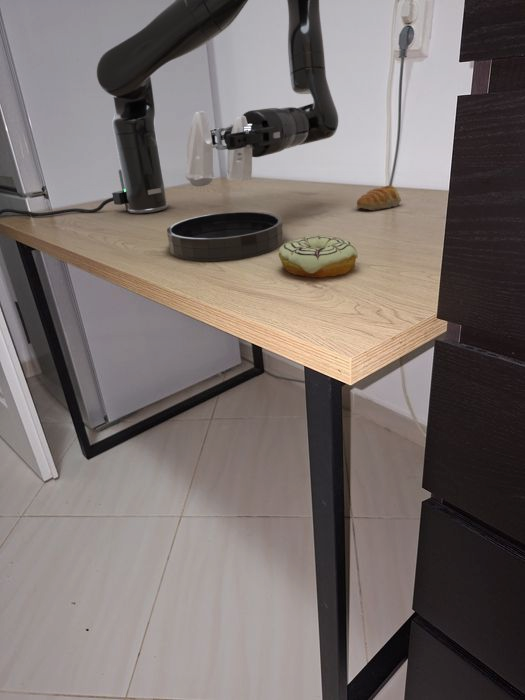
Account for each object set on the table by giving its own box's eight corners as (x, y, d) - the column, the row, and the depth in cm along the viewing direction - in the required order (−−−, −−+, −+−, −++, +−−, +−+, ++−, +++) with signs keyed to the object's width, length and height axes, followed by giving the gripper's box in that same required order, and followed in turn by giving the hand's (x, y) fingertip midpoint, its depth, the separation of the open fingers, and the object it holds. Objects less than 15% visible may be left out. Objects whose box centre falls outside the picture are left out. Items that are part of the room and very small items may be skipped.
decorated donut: (313, 287, 63) (312, 258, 62) (265, 269, 72) (263, 243, 70) (371, 267, 68) (372, 240, 67) (321, 253, 77) (320, 228, 75)
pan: (146, 254, 84) (142, 233, 82) (218, 227, 98) (216, 209, 96) (238, 267, 73) (235, 243, 72) (304, 235, 87) (303, 215, 86)
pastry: (373, 213, 99) (373, 193, 97) (348, 209, 103) (348, 191, 102) (403, 204, 104) (404, 185, 102) (377, 202, 108) (378, 183, 107)
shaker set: (188, 191, 78) (177, 113, 73) (182, 187, 82) (171, 113, 77) (259, 180, 82) (253, 106, 77) (250, 177, 85) (243, 106, 80)
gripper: (233, 111, 91) (171, 118, 79) (300, 106, 84) (243, 114, 72) (237, 154, 95) (178, 168, 83) (302, 153, 87) (248, 168, 75)
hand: (208, 143), depth 77 cm, fingers closed on shaker set, 7 cm apart
